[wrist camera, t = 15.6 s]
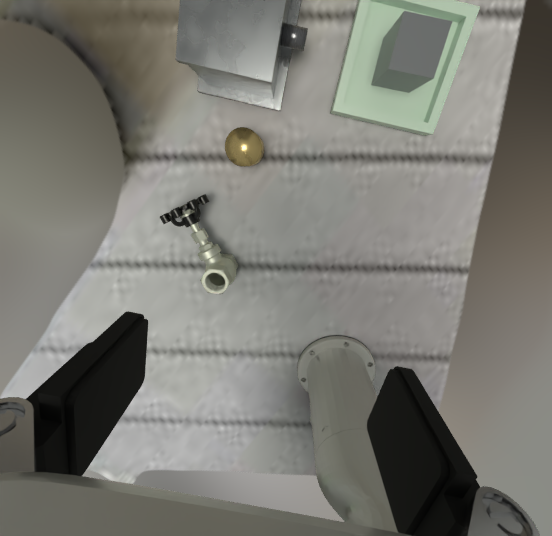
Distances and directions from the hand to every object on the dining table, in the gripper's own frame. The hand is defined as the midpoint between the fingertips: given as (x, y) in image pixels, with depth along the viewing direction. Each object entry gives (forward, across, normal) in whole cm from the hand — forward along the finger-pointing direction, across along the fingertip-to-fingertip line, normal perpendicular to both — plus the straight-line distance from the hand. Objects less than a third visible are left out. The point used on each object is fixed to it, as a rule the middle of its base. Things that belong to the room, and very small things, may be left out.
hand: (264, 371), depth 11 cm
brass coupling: (+30, +6, -8) cm, 32 cm away
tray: (+30, -9, -20) cm, 37 cm away
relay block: (+30, -9, -20) cm, 37 cm away
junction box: (+30, +8, -19) cm, 37 cm away
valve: (+31, +9, +5) cm, 32 cm away
